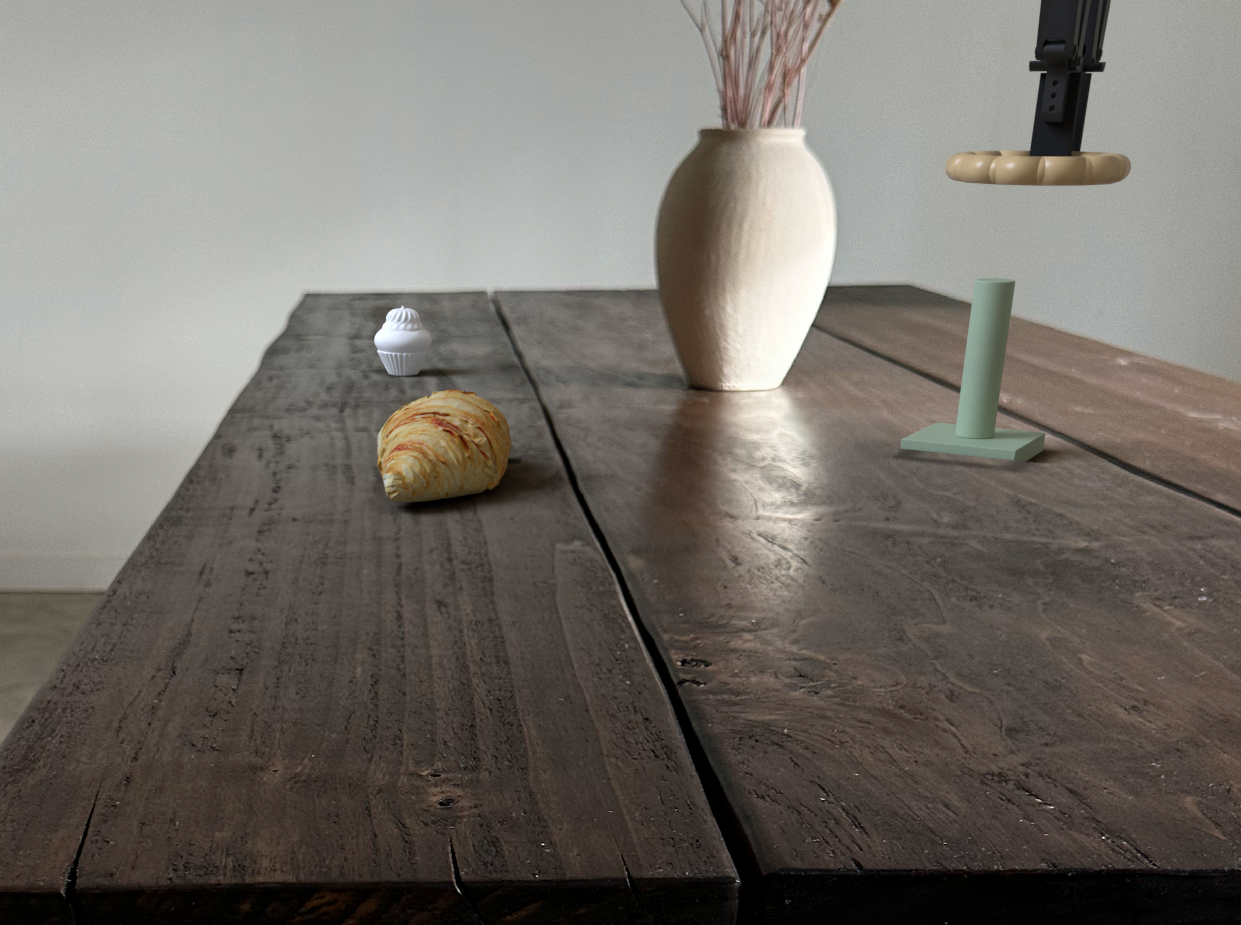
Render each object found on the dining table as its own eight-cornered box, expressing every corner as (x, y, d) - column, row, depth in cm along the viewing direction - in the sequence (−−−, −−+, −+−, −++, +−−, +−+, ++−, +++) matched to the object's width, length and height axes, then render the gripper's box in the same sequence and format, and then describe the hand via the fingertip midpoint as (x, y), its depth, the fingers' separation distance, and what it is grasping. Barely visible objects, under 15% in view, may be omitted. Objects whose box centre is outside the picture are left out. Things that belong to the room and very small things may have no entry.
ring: (1139, 179, 113) (1144, 151, 112) (1107, 188, 104) (1112, 158, 103) (970, 175, 118) (973, 148, 118) (925, 183, 109) (929, 154, 108)
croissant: (435, 565, 111) (487, 466, 107) (313, 489, 112) (361, 388, 108) (515, 495, 129) (563, 409, 125) (411, 431, 130) (455, 343, 126)
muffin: (431, 378, 168) (431, 308, 166) (373, 378, 168) (372, 308, 166) (432, 369, 174) (432, 302, 171) (376, 369, 174) (375, 302, 171)
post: (1043, 451, 131) (1069, 278, 125) (1013, 469, 124) (1039, 287, 119) (933, 440, 135) (954, 272, 130) (899, 457, 129) (919, 281, 123)
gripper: (1073, -191, 113) (1024, 169, 122) (1020, -225, 101) (970, 175, 111) (1188, -201, 109) (1128, 170, 118) (1146, -239, 97) (1083, 177, 107)
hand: (1052, 172), depth 115 cm, fingers closed on ring, 2 cm apart
